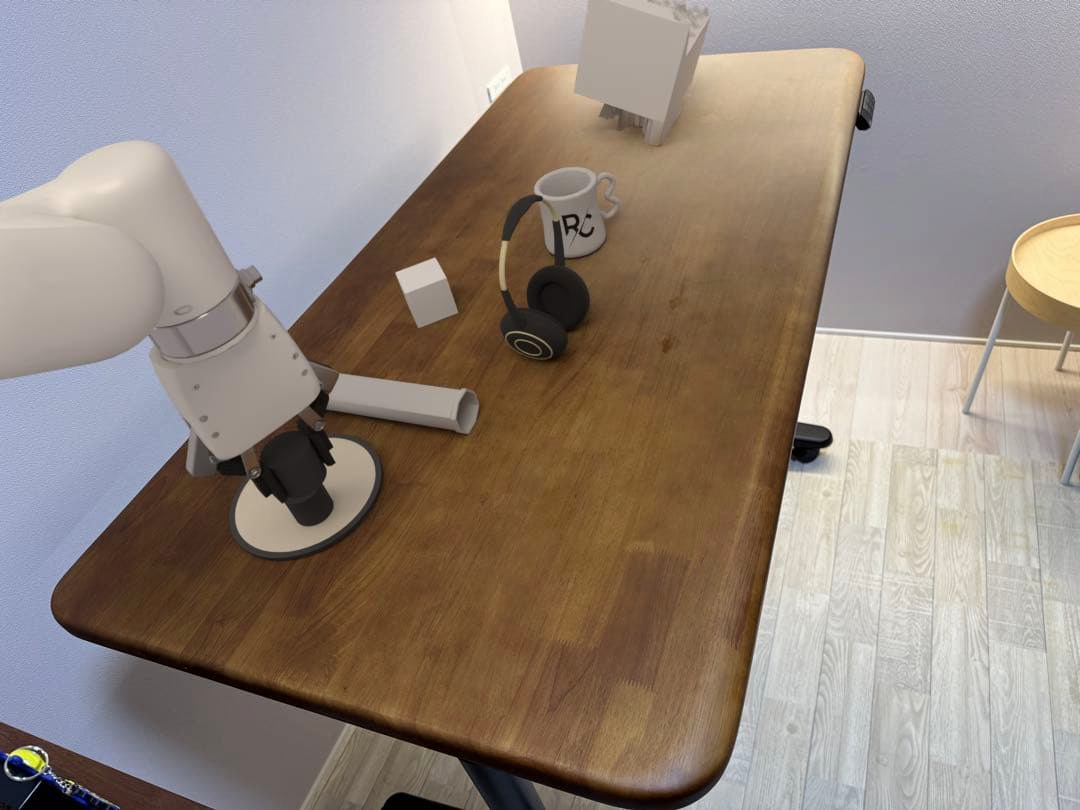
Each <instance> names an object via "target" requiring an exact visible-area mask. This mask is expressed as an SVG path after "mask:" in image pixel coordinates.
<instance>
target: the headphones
mask: <svg viewBox="0 0 1080 810" xmlns="http://www.w3.org/2000/svg"><path fill="white" fill-rule="evenodd" d="M539 201H541V202H543V203H544V204H545V205H546V206H547V207H548V208H549V210H550V212H551V214H552V218H553V220H552V223H553V231H554V254H553V258H554V260H553V261H554V263H553V264H551V265H549V264H548V265H546V266H543V267H541V268H540V269H538V270H537V271H535V272H534V273H533V274H532V276H531V277H530V278H529V281H528V283H527V286H526V292H525V293H526V295H525V296H526V302H527V307H518V306H517V305H516V304H515V302H514V300H513V298H512V295H511V292H510V290H509V288H508V286H507V284H506V259H507V258H506V257H507V249H508V245H509V242H510V241H511V240H512V236H513V234H514V232H515V230H516V228H517V226H518V224H519V223H520V221H521V220H522V218H523V217H524V216H525V214H526V213H527V212H528V211H529V209H530V208H531V207H532V206H533V204H535V203H538V202H539ZM500 241H501V247H500V254H499V260H498V280H499V286H500V289H499V290H500V293H501V296H502V299H503V303H504V305H505V307H506V309H507V311H506V312H505V313H504V314H503V316H502V317H501V320H500V324H499V329H500V333H501V335H502V337H503V338H504V340H505V342H506V344H507V345H508V346H509V347H510V348H511V349H513V350H514V351H515V352H516V353H519V354H520V355H523V356H525V357H527V358H532V359H535V360H548V359H553V358H555V357H558V356H560V355H562V354H563V353H564V352H565V350H566V348H567V346H568V344H569V335H568V331H570V330H572V329H575V328H576V327H578V326H579V325H580V324H582V322H583V321H584V320H585V318H586V317H587V315H588V313H589V310H590V307H591V306H590V305H591V297H590V292H589V289H588V286H587V284H586V282H585V280H584V279H583V278H582V277H581V276H580V275H579V273H577V272H576V271H575V270H573V269H572V268H570V267H568V266H566V258H565V257H564V246H563V238H562V231H561V225H560V220H559V219H558V216H557V213H556V211H555V209H554V207H553V206H552V204H551V203H550V202H549V201H547V200H546V199H544V198H543V197H542V196H539V195H535V193H534V194H528V195H525V196H523V197H521V198H519V199H518V200H516V202H514V203H513V205H511V207H510V208H509V210H508V212H507V215H506V217H505V220H504V223H503V228H502V233H501V240H500Z"/></svg>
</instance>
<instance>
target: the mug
mask: <svg viewBox="0 0 1080 810" xmlns="http://www.w3.org/2000/svg"><path fill="white" fill-rule="evenodd" d="M605 179H607V180H608V181H609V184H608V186H607V188H606V190H605V192H604V199H605V200H606V201H607V202H609V203H612V204H613V206H612V208H611V209H610V210H609V211H608V212H604V211H603V210H602V209H600V204H599V199H598V186H600V184H601V182H602V181H603V180H605ZM616 185H617V178H616V176H615V175H614V174H612V173H611V172H607V171H604V172H600V173H599V174H597V175H596V174H595V172H594V171H593V170H591V169H589V168H587V167H582V166H568V167H562V168H557V169H555V170H552V171H550V172H548V173H545V174H544V175H543V176H541V177H540V178H538V180H537V181H536V182H535V184H534V187H533V193H534V194H535V195H539V196H542V197H543V198H544V199H546V200H547V201H549V202H550V203H551V204H552V206H553V207H554V209H555V211H556V213H557V216H558V219H559V220H560V225H561V231H562V238H563V246H564V257H565V259H575V258H582V257H584V256H587V255H590V254H592V253H594V252H596V251H597V250H598V249H599V248H601V246H602V245H603V244H604V242H605V240H606V237H607V233H606V227H605V223H604V220H609V219H612V218H613V217H614V216H615V215H616V214H617V212H618V211H619V209H620V207H621V206H620V205H621V202H620V199H619V198H618V197H616V196H613V195H612V193H613V192H614V190H615V188H616ZM537 204H538V206H539V209H540V214H541V220H542V224H543V225H542V226H543V235H544V236H543V237H544V244H545V247H546V250H547V251H548V252H549V253H551V254H552V255H554V231H553V223H552V220H553V218H552V214H551V212H550V210H549V208H548V207H547V206H546V205H545V204H544V203H543V202H541V201H539V202H538V201H537Z"/></svg>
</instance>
